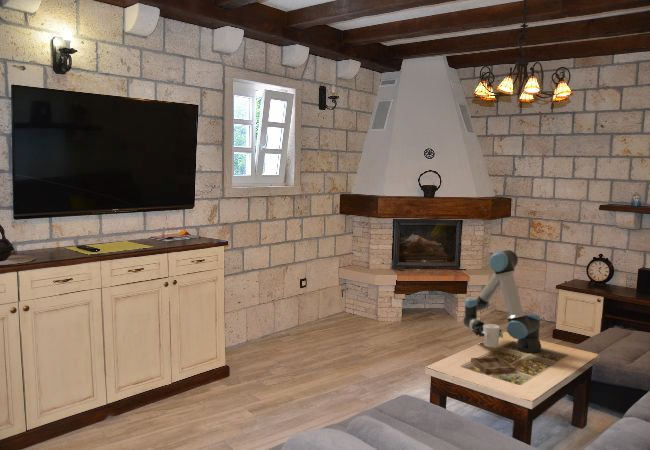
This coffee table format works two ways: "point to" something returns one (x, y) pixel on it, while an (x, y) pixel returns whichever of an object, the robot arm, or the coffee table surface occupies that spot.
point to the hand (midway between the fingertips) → (494, 336)
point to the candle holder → (491, 335)
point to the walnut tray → (492, 364)
